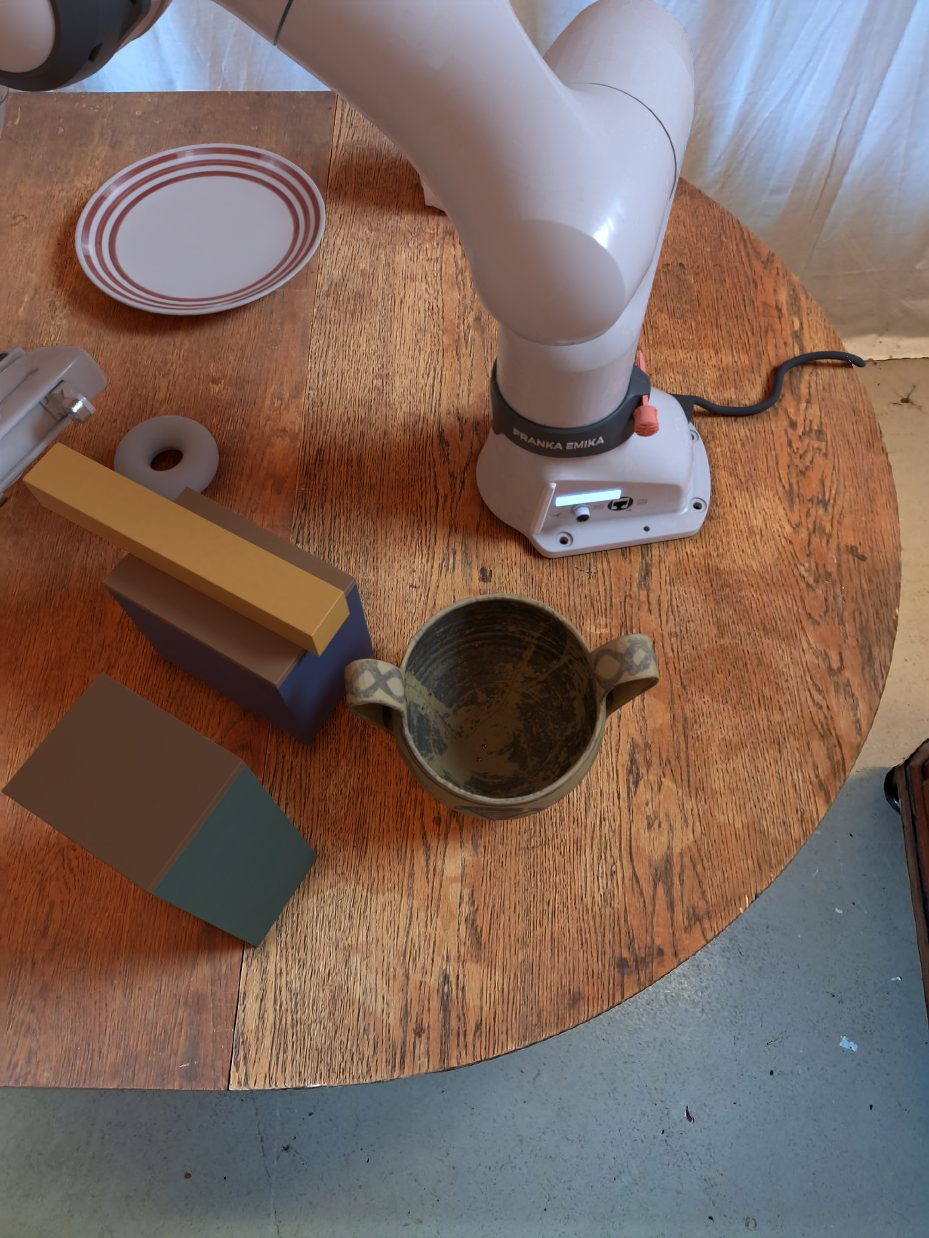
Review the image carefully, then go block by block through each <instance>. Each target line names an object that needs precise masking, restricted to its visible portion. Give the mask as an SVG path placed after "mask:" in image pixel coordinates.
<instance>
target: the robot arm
mask: <svg viewBox="0 0 929 1238" xmlns="http://www.w3.org/2000/svg"><path fill="white" fill-rule="evenodd" d="M173 1H174V0H0V140H1V139H2V135H3V131H4V128H5V123H6V117H7V111H8V110H7V109H8V102H9V93H10V89H12V90H16V91H21V92H28V93H42V92H44V93H45V92H50V91H57V90H60V89H63V88H67V87H70V86H73V85H75V84H78V83H79V82H80V83H81V82H82V81H84V80H87V79H88V78H90V77H91V76H93V75H95V74H97V73H98V72H99V71H100V70H101V69H103V68H104V67H105V66H106V65H107V64H108V63H109V62H110V61H111V60H112V59H113V57H114V56H115V55H116V54H118V52H120V51H122V49H124V48H125V47H126V46H127V45H129V44H130V43H132V42H133V41H135V40H137V39H139V38H142V36H143V35H145V34H147V33H148V32H149V31H150V30H151V29H152V27H154V25H155V24H156V23H157V22H158V21H159V19H160V18H161V17H162V16H163V15H164V13H165V12H166V11H167V9H168V8H170V6H171V4H172V3H173ZM210 1H211V2H213V3H215V4H216V5H218V6H220V7H222V8H223V9H224V10H226V11H227V12H229V13H230V14H232V15H233V16H235V17H236V18H237V19H239V20H240V21H241V22H242V23H244V24H245V25H247V26H248V27H249V28H250V29H251V30H253V31H254V32H255V33H257V34H258V35H259V36H260V37H262V38H263V39H265V40H266V41H267V42H268V43H270V44H271V45H272V46H273V47H276V49H277V50H279V51H280V52H281V53H282V54H283V55H285V56H286V57H288V58H289V59H290V60H292V61H293V62H294V63H296V64H297V65H298V66H299V67H301V68H302V69H304V71H306V72H307V73H308V74H310V75H312V76H313V77H314V79H316V80H318V81H319V82H320V83H322V84H323V85H324V86H325V87H326V88H328V89H329V90H330V91H332V92H333V93H334V94H335V95H336V96H338V97H339V98H340V99H342V100H343V102H345V103H346V104H348V105H349V106H350V107H351V108H353V109H354V110H355V111H356V112H357V113H359V114H360V115H361V116H363V117H364V118H365V119H366V120H368V121H369V122H370V123H371V124H372V125H373V126H374V127H376V129H378V130H379V131H380V132H381V133H382V134H384V136H385V137H386V138H387V139H389V141H390V142H391V143H392V144H393V145H394V146H395V147H396V148H397V149H398V150H399V152H400V153H401V154H402V155H403V156H404V157H405V158H406V160H407V161H408V162H409V163H410V165H411V166H412V167H413V169H414V170H415V171H416V172H417V174H418V175H419V177H420V176H421V177H422V179H423V180H424V181H425V183H426V184H427V186H428V187H429V188H430V190H431V191H432V193H433V194H434V196H435V197H436V199H437V200H438V202H439V203H440V205H441V206H442V208H443V209H444V211H445V214H446V216H447V218H448V219H449V221H450V223H451V225H452V227H453V228H454V230H455V232H456V234H457V236H458V240H459V241H460V243H461V246H462V248H463V251H464V254H465V257H466V260H467V263H468V268H469V271H470V276H471V280H472V284H473V287H474V292H475V293H476V296H477V298H478V300H479V301H480V303H481V304H482V307H484V309H485V311H486V312H487V313H488V314H489V315H490V316H491V317H492V318H493V319H494V320H495V322H497V343H496V344H497V345H496V346H497V347H496V356H495V358H494V361H493V364H492V367H491V375H490V378H489V386H488V418H489V421H490V428H489V431H488V434H487V438H486V441H485V443H484V444H483V446H482V448H481V450H480V452H479V455H478V458H477V461H476V466H475V480H476V485H477V489H478V492H479V493H480V496H481V498H482V500H483V502H484V503H485V505H486V507H487V508H488V509H489V510H490V512H491V513H492V514H494V516H496V517H497V518H498V519H499V520H501V522H503V523H504V524H506V525H507V526H509V527H511V528H513V529H514V530H516V531H518V532H519V533H521V534H522V535H524V536H525V538H527V540H528V541H529V542H530V544H531V545H532V546H533V548H535V550H536V551H537V552H538V553H539V554H541V556H543V557H546V558H547V559H558V558H563V557H570V556H577V555H583V554H590V553H595V552H601V551H608V550H615V549H621V548H626V547H634V546H641V545H647V544H652V543H659V542H665V541H671V540H678V539H685V538H690V537H693V536H695V535H696V534H698V532H699V531H700V529H701V528H702V526H703V524H704V522H705V520H706V517H707V514H708V510H709V506H710V501H711V489H712V488H711V471H710V463H709V458H708V454H707V450H706V447H705V445H704V442H703V440H702V437H701V435H700V433H699V432H698V430H697V428H696V427H695V425H694V424H693V423H692V422H691V419H692V417H693V414H694V407H695V405H696V406H698V407H700V408H702V409H704V411H707V412H709V413H712V414H715V415H724V416H750V415H755V414H758V413H762V412H764V411H766V410H767V411H768V410H769V409H770V408H771V407H773V406H774V405H775V404H776V403H777V402H778V401H779V398H780V397H781V394H782V390H783V383H784V378H785V375H786V373H787V372H788V370H790V369H792V368H793V367H796V366H798V365H800V364H804V363H808V362H813V361H814V362H815V361H820V360H821V361H822V360H830V361H831V360H834V361H841V362H846V363H849V364H852V365H854V366H855V367H857V368H865V367H866V366H867V363H866V360H864V359H863V358H862V357H861V356H858V355H856V354H853V353H851V352H845V351H838V350H820V351H812V352H807V353H803V354H799V355H797V356H796V355H795V356H794V357H791V358H789V359H787V360H785V361H784V362H782V363H781V364H780V366H779V367H778V368H777V370H776V373H775V375H774V379H773V387H772V392H771V394H770V396H768V398H767V399H765V400H764V401H762V402H759V403H757V404H753V405H747V406H730V405H720V404H716V403H713V402H712V401H709V400H708V399H706V398H704V397H701V396H699V395H694V394H680V393H673V392H665V391H663V390H661V389H659V388H656V387H654V386H652V384H651V379H650V376H649V375H648V373H647V372H646V371H647V370H646V362H645V358H644V355H643V353H642V350H641V349H639V350H638V346H639V341H640V338H641V334H642V329H643V324H644V320H645V315H646V313H647V307H648V303H649V299H650V296H651V293H652V292H651V291H652V288H653V284H654V280H655V276H656V272H657V267H658V263H659V260H660V256H661V252H662V247H663V243H664V239H665V234H666V231H667V228H668V223H669V218H670V215H671V210H672V207H673V203H674V199H675V195H676V190H677V187H678V183H679V178H680V174H681V170H682V166H683V163H684V158H685V155H686V151H687V150H686V149H687V145H688V142H689V138H690V133H691V129H692V124H693V121H694V111H695V70H694V57H693V56H694V55H693V51H692V45H691V43H690V39H689V37H688V35H687V33H686V31H685V29H684V28H683V26H682V24H681V23H680V21H679V20H678V19H677V18H676V17H675V15H673V14H672V12H671V11H669V10H668V9H667V8H666V7H664V6H662V4H659V3H657V2H656V1H653V0H596V1H594V2H593V3H591V4H589V5H588V6H586V7H585V8H583V9H582V10H581V11H580V12H579V13H578V14H577V15H576V16H575V17H574V18H573V19H572V20H571V21H570V22H569V23H568V24H567V26H566V27H565V28H564V29H563V30H562V31H561V32H560V33H559V35H558V36H557V37H556V38H555V40H554V41H553V42H552V43H551V45H550V46H549V47H548V48H547V49H546V51H545V53H544V55H542V54H540V52H539V51H538V49H537V48H536V46H535V45H534V43H533V41H532V40H531V38H530V37H529V35H528V34H527V32H526V30H525V29H524V27H523V25H522V24H521V22H520V20H519V18H518V16H517V15H516V12H515V10H514V8H513V5H512V4H511V1H510V0H210ZM444 211H443V212H444ZM637 350H638V354H637ZM636 355H638V356H637V358H636ZM847 356H848V357H847ZM635 359H636V363H635ZM849 360H850V361H851V362H850V361H849ZM108 381H109V378H108V375H107V374H106V372H105V371H104V370H103V369H102V367H101V366H100V364H99V363H98V362H97V361H96V360H95V359H94V358H93V357H92V356H91V355H90V354H89V352H87V351H86V350H85V349H83V348H82V347H81V346H77V345H72V344H71V345H69V344H57V345H45V346H40V347H36V348H33V349H31V350H29V351H27V352H26V351H25V350H24V349H23V348H21V347H20V346H15V345H14V346H11V347H8V348H6V349H4V350H3V351H2V352H0V510H1V509H2V508H3V506H4V505H6V503H8V502H9V500H10V498H9V497H8V495H6V493H3V492H5V490H8V489H9V488H10V487H11V486H13V485H14V484H15V483H16V482H17V481H18V480H19V479H20V478H21V477H22V475H23V474H24V472H25V471H26V469H27V468H28V467H29V466H30V465H31V464H32V463H33V462H34V461H35V460H36V459H37V458H38V457H39V456H40V455H41V454H42V453H43V452H44V451H45V450H46V449H47V448H48V447H49V446H50V445H51V444H52V443H53V442H54V441H55V440H56V439H57V438H58V437H59V436H60V435H61V434H62V432H63V431H65V430H66V429H67V427H69V425H70V424H71V423H72V422H73V423H74V424H81V425H83V424H85V423H86V422H87V421H88V420H89V419H90V418H91V417H92V416H93V414H95V413H96V411H97V410H96V407H95V406H94V405H93V404H92V402H93V401H94V400H95V399H96V398H97V397H98V396H99V395H100V394H101V393H102V392H103V391H104V390H105V389H106V387H107V386H108ZM694 507H697V508H699V509H696V508H694ZM563 541H564V542H566V543H565V544H563V543H561V542H563Z"/></svg>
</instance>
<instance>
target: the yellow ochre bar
mask: <svg viewBox="0 0 929 1238" xmlns="http://www.w3.org/2000/svg"><path fill="white" fill-rule="evenodd" d="M21 481H22V482H23V483H24V484H25V485H26V487H27V488H28V490H29V491H30V492H31V493H32V495H33V496H34V497H35V498H36V500H37V501H38V502H39V503H40V505H41V506H42V507H44V508H47V509H48V510H50V511H52V512H53V513H55V514H57V515H59V516H61V517H63V518H64V519H66V520H68V521H70V522H72V523H74V524H76V525H77V526H79V527H81V528H83V529H84V530H86V531H88V532H90V533H92V534H94V535H96V536H97V537H99V538H101V539H103V540H105V541H107V542H108V543H110V544H112V545H114V546H116V547H118V548H119V549H121V550H123V551H125V552H127V553H128V552H129V553H130V554H132V555H134V556H136V557H138V558H139V559H141V560H143V561H145V562H147V563H149V564H150V565H152V566H154V567H156V568H158V569H160V570H161V571H163V572H165V573H167V574H169V575H171V576H172V577H174V578H176V579H178V580H180V581H182V582H183V583H185V584H187V585H189V586H191V587H192V588H194V589H196V590H198V591H200V592H202V593H203V594H205V595H207V596H209V597H211V598H213V599H214V600H216V601H218V602H220V603H222V604H224V605H225V606H227V607H229V608H231V609H233V610H235V611H236V612H238V613H240V614H242V615H244V616H246V617H247V618H249V619H251V620H253V621H255V622H256V623H258V624H260V625H262V626H264V627H266V628H267V629H269V630H271V631H273V632H275V633H277V634H278V635H280V636H282V637H284V638H286V639H288V640H289V641H291V642H293V643H295V644H297V645H299V646H300V647H302V648H304V649H306V650H308V651H310V652H311V653H313V654H315V655H317V656H320V655H321V654H322V652H323V651H324V649H325V648H326V647H327V645H328V644H329V642H330V641H331V639H332V638H333V637H334V635H335V634H336V632H337V631H338V630H339V628H340V627H341V625H342V624H343V622H344V621H345V620H346V618H347V617H348V615H349V609H348V606H347V602H346V599H345V595H344V592H343V591H342V590H340V589H338V588H336V587H334V586H332V585H330V584H328V583H326V582H324V581H323V580H321V579H319V578H317V577H315V576H313V575H311V574H309V573H307V572H305V571H303V570H302V569H300V568H298V567H296V566H294V565H292V564H290V563H288V562H286V561H284V560H282V559H281V558H279V557H277V556H275V555H273V554H271V553H269V552H267V551H265V550H263V549H261V548H260V547H258V546H256V545H254V544H252V543H250V542H248V541H246V540H244V539H242V538H240V537H238V536H237V535H235V534H233V533H231V532H229V531H227V530H225V529H223V528H221V527H219V526H217V525H216V524H214V523H212V522H210V521H208V520H206V519H204V518H202V517H200V516H198V515H196V514H195V513H193V512H191V511H189V510H187V509H185V508H183V507H181V506H179V505H177V504H175V503H174V502H172V501H170V500H168V499H166V498H164V497H162V496H160V495H158V494H156V493H154V492H153V491H151V490H149V489H147V488H145V487H143V486H141V485H139V484H137V483H135V482H133V481H131V480H130V479H128V478H126V477H124V476H122V475H120V474H118V473H116V472H115V471H114V470H112V469H110V468H109V467H106V466H105V465H103V464H101V463H99V462H97V461H95V460H94V459H91V458H90V457H88V456H86V455H84V454H82V453H80V452H78V451H76V450H74V449H73V448H70V447H68V446H67V445H64V444H62V443H61V442H59V441H57V442H56V443H55V444H54V445H53V446H52V447H51V448H50V449H49V450H48V451H47V452H46V453H45V454H44V455H43V456H42V457H41V458H40V459H39V461H38V462H37V463H36V464H35V465H34V466H33V467H32V468H31V469H30V470H29V471H28V472H27V473H26V474H25V475H24V476H23V477H22V479H21Z"/></svg>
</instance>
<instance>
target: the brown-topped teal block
mask: <svg viewBox="0 0 929 1238" xmlns="http://www.w3.org/2000/svg"><path fill="white" fill-rule="evenodd" d="M0 792H1V793H3V795H5V796H7V797H8V798H9V799H11V800H12V801H14V802H16V803H17V804H18V805H20V806H21V807H22V808H24V809H26V810H27V811H28V812H29V813H31V814H32V815H34V816H36V817H37V818H38V819H40V820H42V821H43V822H44V823H46V824H47V825H49V826H50V827H52V828H53V829H54V830H56V831H58V832H59V833H60V834H62V835H63V836H65V837H66V838H67V839H69V840H71V841H72V842H73V843H75V844H76V845H77V846H79V847H81V848H82V849H83V850H85V851H86V852H88V853H89V854H91V855H92V856H94V857H95V858H97V859H98V860H100V861H101V862H102V863H104V864H105V865H106V866H108V867H110V869H113V870H114V871H116V872H117V873H118V874H120V875H121V876H123V877H124V878H125V879H127V880H128V881H130V882H132V883H133V884H134V885H135V886H137V887H139V889H142V890H143V891H144V892H146V893H148V894H150V895H152V896H154V897H156V898H158V899H160V900H162V901H164V902H166V903H168V904H170V905H172V906H174V907H176V908H178V909H179V910H182V911H184V912H186V913H187V914H190V915H192V916H194V917H196V918H198V919H200V920H202V921H203V922H206V923H208V924H210V925H212V926H214V927H215V928H218V929H220V930H222V931H224V932H226V933H228V934H229V935H232V936H233V937H235V938H238V939H240V940H242V941H244V942H245V943H248V944H250V945H251V946H254V947H256V948H259V947H260V945H261V944H262V943H263V941H264V939H265V938H266V936H267V935H268V933H269V932H270V930H271V929H272V927H273V926H274V924H275V923H276V921H277V920H278V918H279V917H280V915H281V914H282V912H283V910H284V909H285V908H286V906H287V905H288V903H289V902H290V900H291V899H292V897H293V896H294V894H295V893H296V891H297V889H298V888H299V886H300V885H301V884H302V882H303V881H304V880H305V877H306V876H307V875H308V873H309V872H310V870H311V868H312V867H313V865H314V864H315V863H316V861H317V859H318V858H319V856H318V854H317V853H316V852H315V851H314V850H313V849H314V848H312V847H311V846H310V844H309V843H308V842H307V840H306V839H305V838H304V837H303V835H302V834H301V832H299V830H298V828H297V827H296V826H295V825H294V824H293V822H292V821H291V820H290V819H289V817H288V816H287V815H286V813H285V812H284V810H282V808H281V807H280V806H279V805H278V803H277V802H276V800H275V799H274V798H273V797H272V795H271V794H270V793H269V791H268V790H267V789H266V788H265V786H264V785H263V784H262V783H261V781H260V780H259V778H258V777H257V776H256V775H255V773H254V772H253V771H252V769H251V768H250V767H249V766H248V765H247V763H246V762H245V760H244V759H242V758H241V757H239V756H238V755H236V754H234V753H233V752H231V751H230V750H229V749H226V748H224V747H223V746H222V745H220V744H219V743H216V742H215V741H214V740H213V739H211V738H209V737H207V736H205V735H204V734H203V733H201V732H199V731H198V730H196V729H194V728H193V727H191V726H189V725H188V724H186V723H185V722H183V721H182V720H180V719H178V718H177V717H175V716H173V715H172V714H170V713H169V712H168V711H165V710H164V709H162V708H161V707H159V706H157V705H156V704H155V703H153V702H151V701H150V700H148V699H146V698H145V697H143V696H142V695H140V694H138V693H137V692H135V691H134V690H132V689H130V688H129V687H127V686H126V685H125V684H122V683H120V681H117V680H116V679H114V678H113V677H111V676H110V675H108V674H106V673H105V672H103V671H100V673H98V675H97V676H96V678H94V680H93V681H92V682H91V683H90V685H89V686H88V687H87V688H86V689H85V690H84V691H83V693H82V694H81V695H80V696H79V697H78V698H77V700H76V701H75V703H74V704H73V705H72V706H71V707H70V708H69V710H68V711H67V712H66V713H65V714H64V715H63V716H62V717H61V719H60V720H59V721H58V722H57V724H56V725H55V726H54V727H53V728H52V730H51V731H50V732H49V733H48V734H47V736H46V737H45V738H44V739H43V740H42V741H41V743H40V744H39V745H38V746H37V747H36V749H35V750H34V751H33V752H32V753H31V754H30V756H29V757H28V758H27V759H26V761H25V762H24V763H23V764H22V765H21V766H20V768H19V769H18V770H17V771H16V772H15V774H14V775H13V776H12V777H11V778H10V780H9V781H8V782H7V783H6V784H5V785H4V787H3V788H2V789H1V790H0Z"/></svg>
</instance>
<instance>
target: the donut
mask: <svg viewBox="0 0 929 1238" xmlns="http://www.w3.org/2000/svg"><path fill="white" fill-rule="evenodd" d="M218 448H219V447H218V444H217V441H216V439H215V438H214V437H213V435H212V434H211V432H210V431H209V430H208V428H207V427H205V426H204V425H202V424H201V423H200V422H199V421H197V420H195V419H193V418H189V417H186V416H183V415H174V414H173V415H171V414H164V415H160V416H155V417H151V418H148V419H146V420H144V421H142V422H140V423H138V424H136V425H135V426H133V427H132V428H131V429H130V430H128V432H126V434H124V436H123V437H122V439H121V440H120V442H119V443H118V445H117V447H116V450H115V452H114V453H115V454H114V458H113V462H112V463H113V471H114V472H116V473H118V474H120V475H122V476H124V477H126V478H128V479H130V480H131V481H133V482H135V483H137V484H139V485H141V486H143V487H145V488H147V489H149V490H151V491H153V492H154V493H156V494H158V495H160V496H162V497H164V498H166V499H168V500H170V501H172V502H173V501H174V500H175V499H176V498H177V497H178V496H179V495H180V494H181V492H182V491H183V490H184V489H185V488H186V487H189V488H191V489H193V490H195V491H197V492H198V493H200V494H202V492H203V491H205V490H206V488H208V487H209V486H210V484H211V482H212V481H213V479H214V478H215V476H216V474H217V472H218V467H219V462H220V455H219V450H218ZM166 451H179V452H180V453H182V458H181V460H180V461H179V463H178V464H176V465H175V466H173V467H171V468H170V469H166V470H155V469H153V468H152V467H151V464H152V462H153V460H154V458H157V456H158V455H159V454H161V453H163V452H166Z"/></svg>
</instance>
